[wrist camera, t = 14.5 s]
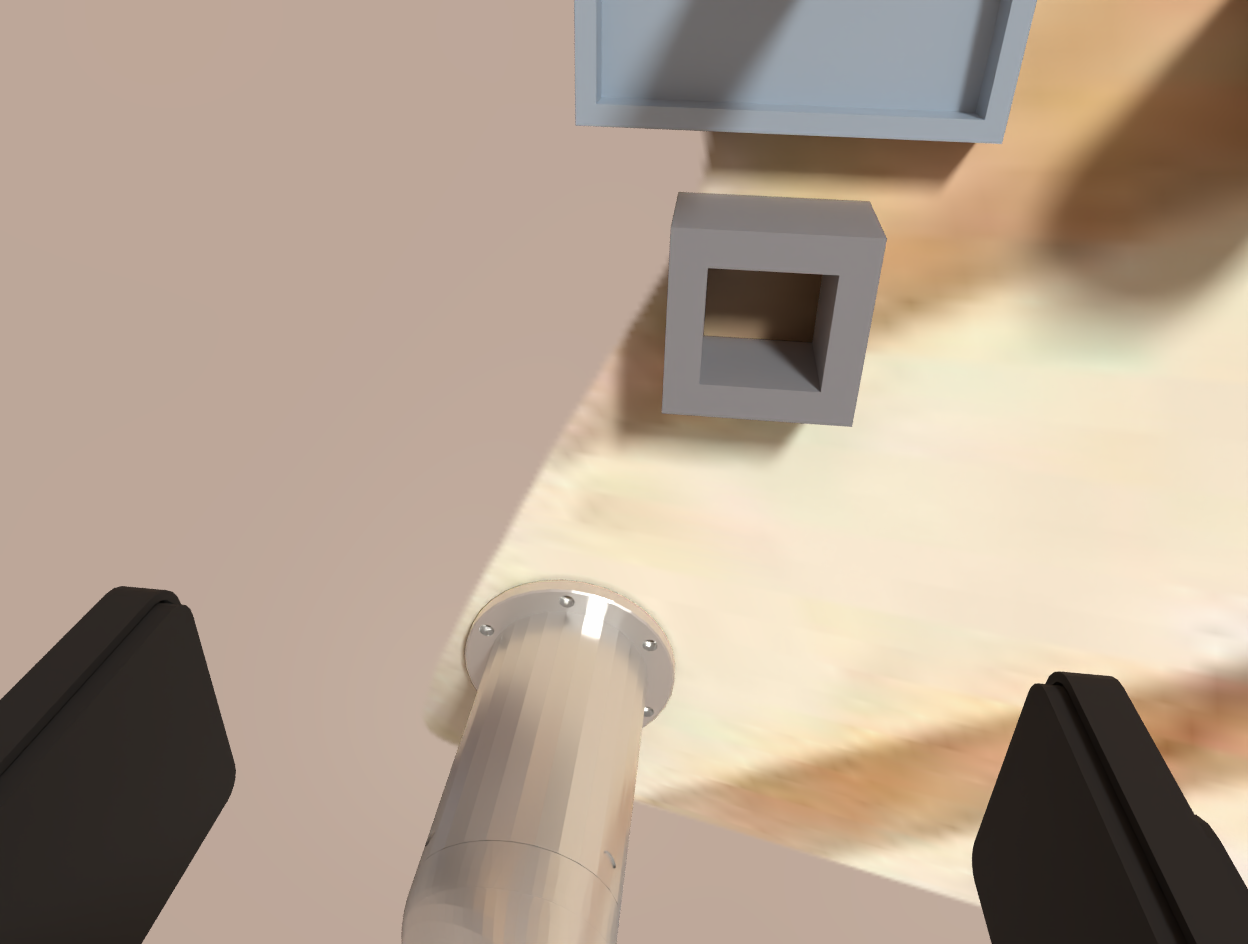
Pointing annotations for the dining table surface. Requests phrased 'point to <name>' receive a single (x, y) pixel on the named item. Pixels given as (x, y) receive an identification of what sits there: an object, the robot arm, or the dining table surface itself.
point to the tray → (802, 66)
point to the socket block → (756, 368)
